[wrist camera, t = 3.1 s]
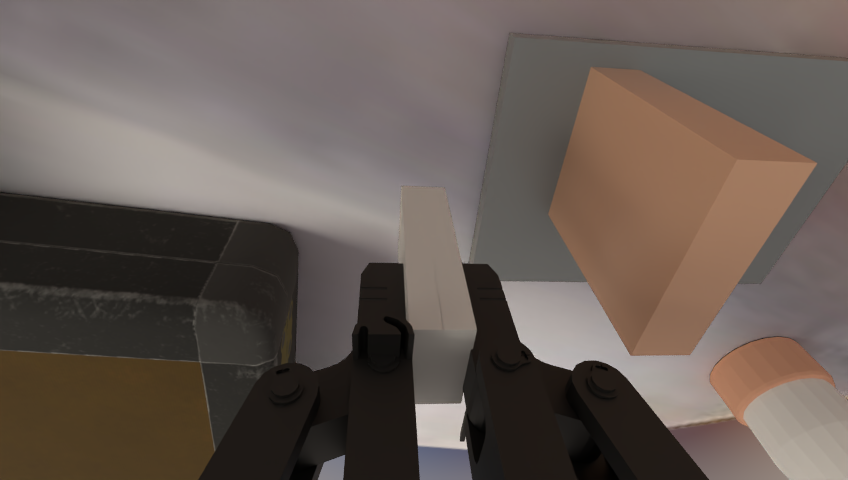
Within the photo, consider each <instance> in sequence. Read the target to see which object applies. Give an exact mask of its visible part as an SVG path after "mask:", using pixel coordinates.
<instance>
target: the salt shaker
mask: <svg viewBox="0 0 848 480" xmlns="http://www.w3.org/2000/svg"><path fill="white" fill-rule="evenodd" d="M710 383H711V384H712V386H713V387H714V388H715V390H716V391H717V393H718V394H719V395H720V397H721V398H722V399H723V401H724V402H725V404H726V405H727V406H728V408H729V409H730V410H731V412H732V413H733V415H734V416H735V417H736V419H737V420H738V421H739V422H740V423H741V424H743V425H745V426H748V427H749V428H750V429H751V430H752V432H753V433H754V435H755V436H756V438H757V439H758V440H759V442H760V443H761V445H762V446H763V447H764V449H765V450H766V452H767V453H768V455H769V456H770V458H771V459H772V460H773V462H774V463H775V465H776V466H777V467H778V468H779V469H780V470H781V471H782V472H783V473H784V475H785V476H786V477H787V478H788V479H789V480H848V400H847V399H846V398H845V397H844V396H843V395H842V394H841V393H840V392H839V391H838V390H837V389H836V388H835V384H834V381H833V378H832V376H831V375H830V374H829V373H828V372H827V371H826V370H825V369H824V368H823V367H822V366H821V365H820V364H819V363H818V362H817V361H816V360H815V359H813V358H812V357H811V356H810V355H809V354H808V353H807V352H806V351H805V350H804V349H803V348H802V347H801V346H800V345H799V344H798V343H797V342H795V341H794V340H792V339H790V338H784V337H772V338H764V339H760V340H757V341H753V342H750V343H748V344H746V345H743V346H741V347H739V348H737V349H735V350H734V351H732V352H731V353H729V354H728V355H726V356H725V357H723V358H722V359H721V360H720V361H719V362H718V363H717V364H716V365H715V367H714V369H713V370H712V372H711V374H710Z"/></svg>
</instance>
